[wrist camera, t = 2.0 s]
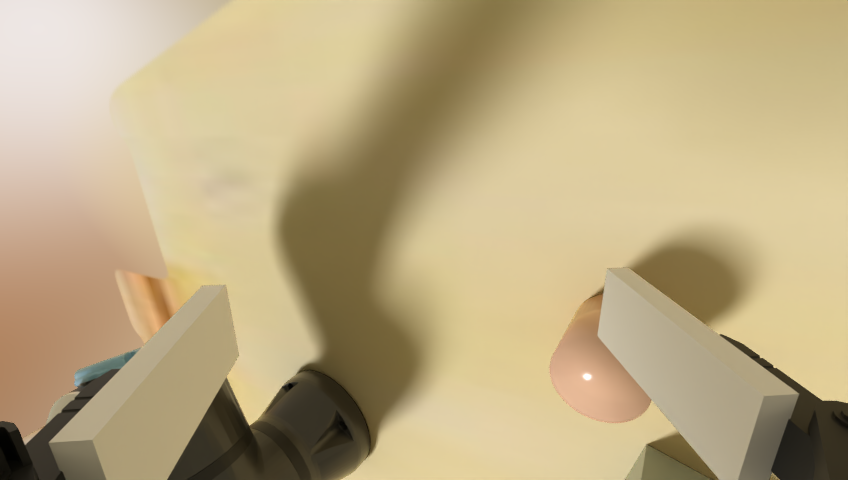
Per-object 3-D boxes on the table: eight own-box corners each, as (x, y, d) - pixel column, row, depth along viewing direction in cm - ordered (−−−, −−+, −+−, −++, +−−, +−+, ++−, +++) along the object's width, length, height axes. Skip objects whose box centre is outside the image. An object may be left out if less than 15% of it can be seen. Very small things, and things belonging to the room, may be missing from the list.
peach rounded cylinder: (641, 380, 33) (629, 440, 28) (563, 342, 36) (538, 390, 30) (676, 316, 31) (670, 368, 25) (589, 280, 33) (566, 320, 28)
